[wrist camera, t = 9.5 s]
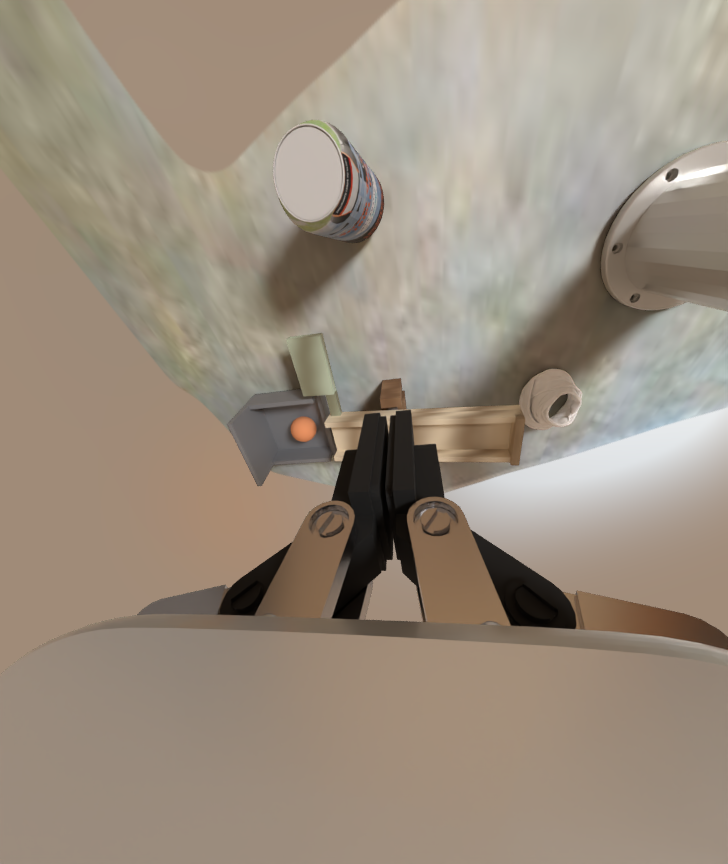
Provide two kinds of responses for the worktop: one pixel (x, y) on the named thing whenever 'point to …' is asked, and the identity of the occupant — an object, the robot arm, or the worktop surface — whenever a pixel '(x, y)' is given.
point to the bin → (281, 431)
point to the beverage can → (326, 183)
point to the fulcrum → (392, 395)
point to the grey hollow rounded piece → (549, 399)
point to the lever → (413, 415)
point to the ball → (303, 429)
